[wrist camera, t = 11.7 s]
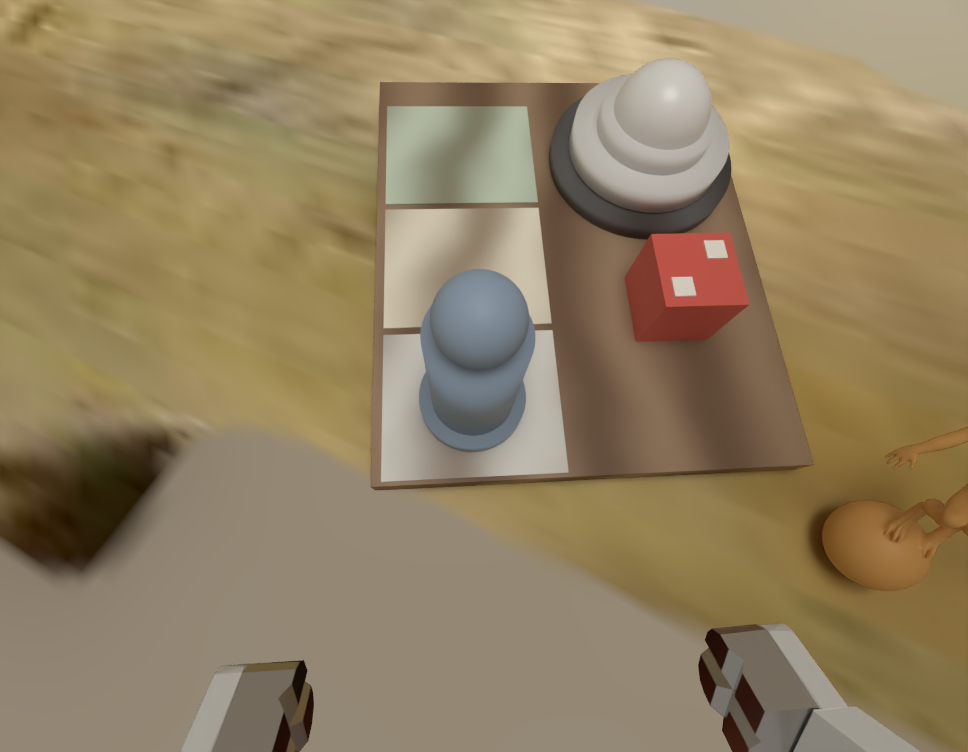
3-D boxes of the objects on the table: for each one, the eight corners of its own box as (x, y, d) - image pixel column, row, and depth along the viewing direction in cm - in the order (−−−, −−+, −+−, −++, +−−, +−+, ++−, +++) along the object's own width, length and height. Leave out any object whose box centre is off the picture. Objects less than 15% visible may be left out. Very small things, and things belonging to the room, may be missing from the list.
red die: (692, 275, 27) (730, 231, 23) (707, 339, 26) (750, 303, 22) (624, 277, 27) (651, 232, 23) (635, 341, 26) (667, 305, 22)
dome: (699, 96, 31) (744, 10, 26) (731, 211, 28) (789, 139, 23) (561, 95, 30) (580, 8, 25) (578, 213, 27) (604, 140, 22)
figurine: (753, 539, 24) (1015, 532, 13) (786, 436, 26) (1039, 352, 15) (914, 626, 23) (1355, 704, 12) (937, 513, 25) (1334, 486, 14)
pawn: (519, 351, 25) (560, 219, 15) (527, 449, 23) (580, 376, 13) (419, 355, 25) (392, 222, 15) (421, 454, 23) (390, 382, 13)
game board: (694, 102, 34) (712, 70, 32) (793, 469, 25) (828, 461, 23) (383, 102, 32) (377, 67, 30) (375, 490, 24) (366, 484, 21)
